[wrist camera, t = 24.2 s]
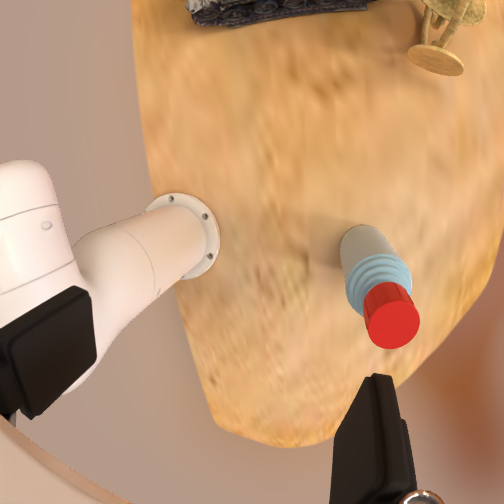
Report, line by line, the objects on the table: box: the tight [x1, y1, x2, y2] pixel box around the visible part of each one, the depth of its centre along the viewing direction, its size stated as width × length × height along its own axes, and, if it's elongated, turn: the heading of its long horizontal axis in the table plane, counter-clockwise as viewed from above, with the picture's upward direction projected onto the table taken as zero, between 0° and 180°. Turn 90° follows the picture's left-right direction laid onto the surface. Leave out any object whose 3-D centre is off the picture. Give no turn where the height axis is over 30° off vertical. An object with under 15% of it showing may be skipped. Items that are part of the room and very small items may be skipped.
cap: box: [363, 282, 420, 349], centre depth 22 cm, size 4×4×4 cm
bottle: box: [340, 225, 412, 317], centre depth 30 cm, size 6×6×20 cm
